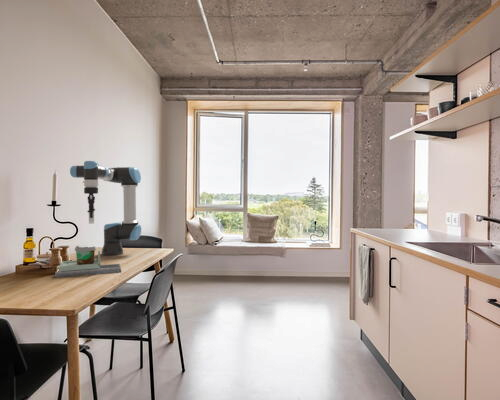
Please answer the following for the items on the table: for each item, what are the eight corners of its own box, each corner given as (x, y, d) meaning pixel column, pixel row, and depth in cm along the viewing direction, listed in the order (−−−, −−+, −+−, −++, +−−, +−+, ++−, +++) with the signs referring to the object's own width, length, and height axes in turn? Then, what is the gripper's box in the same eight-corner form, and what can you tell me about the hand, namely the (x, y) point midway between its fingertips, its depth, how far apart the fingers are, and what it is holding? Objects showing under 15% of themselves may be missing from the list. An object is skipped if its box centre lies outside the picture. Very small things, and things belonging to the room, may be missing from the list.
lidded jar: (61, 266, 209) (61, 251, 209) (49, 270, 198) (49, 254, 198) (44, 265, 210) (44, 250, 210) (32, 269, 199) (32, 253, 199)
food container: (69, 264, 191) (69, 247, 191) (77, 262, 197) (77, 245, 197) (88, 266, 188) (88, 248, 188) (95, 263, 194) (95, 246, 194)
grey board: (58, 270, 196) (58, 267, 196) (119, 266, 210) (119, 262, 210) (54, 277, 180) (54, 273, 180) (121, 272, 193) (121, 268, 193)
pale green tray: (62, 266, 196) (62, 249, 196) (99, 263, 204) (99, 247, 204) (59, 272, 181) (59, 253, 181) (100, 269, 190) (100, 251, 190)
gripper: (84, 186, 213) (85, 220, 213) (83, 186, 190) (83, 224, 191) (97, 187, 216) (98, 220, 216) (98, 186, 193) (98, 224, 194)
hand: (91, 222), depth 203 cm, fingers open, 13 cm apart
